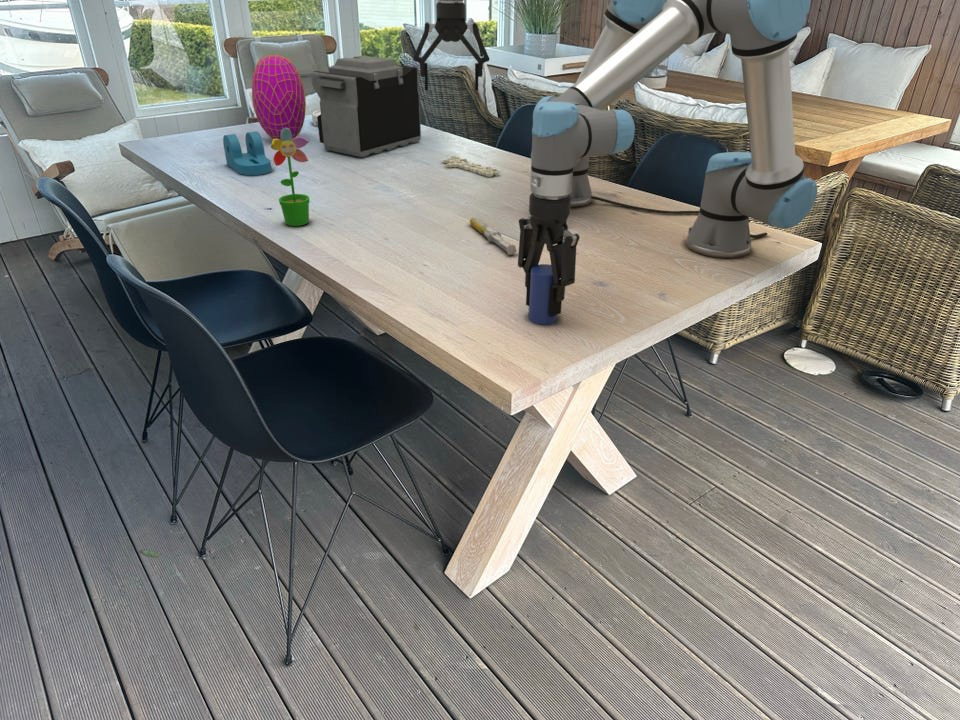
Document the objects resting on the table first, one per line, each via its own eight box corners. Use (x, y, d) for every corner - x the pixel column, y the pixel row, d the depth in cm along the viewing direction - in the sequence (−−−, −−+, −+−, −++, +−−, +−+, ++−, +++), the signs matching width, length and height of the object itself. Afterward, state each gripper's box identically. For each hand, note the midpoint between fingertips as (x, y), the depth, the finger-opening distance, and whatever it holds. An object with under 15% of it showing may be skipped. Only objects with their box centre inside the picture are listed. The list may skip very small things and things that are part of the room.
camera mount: (227, 164, 233) (221, 132, 227) (257, 160, 238) (252, 129, 233) (244, 176, 220) (239, 143, 215) (276, 172, 225) (271, 139, 220)
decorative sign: (432, 159, 238) (454, 155, 243) (432, 162, 238) (454, 157, 244) (482, 176, 221) (505, 170, 226) (482, 179, 221) (505, 173, 227)
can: (543, 309, 140) (546, 261, 135) (562, 319, 136) (566, 270, 131) (522, 317, 137) (525, 268, 132) (541, 327, 133) (544, 277, 128)
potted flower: (284, 229, 179) (270, 130, 166) (277, 220, 185) (263, 124, 172) (319, 224, 183) (308, 127, 170) (311, 215, 188) (300, 121, 176)
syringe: (466, 223, 184) (466, 213, 183) (479, 221, 185) (479, 212, 184) (502, 257, 164) (503, 246, 163) (517, 255, 165) (517, 244, 164)
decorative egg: (293, 132, 276) (283, 50, 261) (319, 140, 264) (310, 56, 249) (249, 139, 265) (236, 54, 250) (273, 148, 253) (261, 60, 238)
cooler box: (383, 133, 276) (378, 52, 261) (425, 141, 265) (422, 56, 250) (314, 150, 251) (304, 61, 235) (358, 160, 240) (350, 67, 224)
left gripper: (401, 2, 172) (405, 91, 183) (500, 3, 173) (498, 92, 184) (402, 0, 178) (406, 87, 189) (498, 1, 180) (496, 87, 191)
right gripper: (500, 185, 128) (497, 298, 140) (574, 210, 116) (564, 331, 128) (529, 178, 132) (524, 288, 144) (603, 202, 120) (591, 320, 132)
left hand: (451, 89), depth 187 cm, fingers open, 13 cm apart
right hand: (543, 308), depth 136 cm, fingers closed on can, 6 cm apart
